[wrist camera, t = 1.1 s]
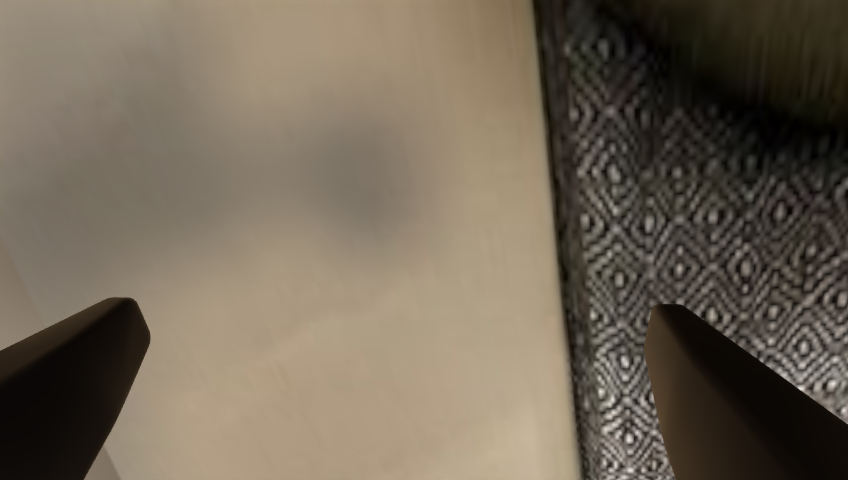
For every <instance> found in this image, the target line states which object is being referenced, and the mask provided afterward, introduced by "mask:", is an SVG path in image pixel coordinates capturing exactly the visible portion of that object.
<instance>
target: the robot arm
mask: <svg viewBox="0 0 848 480" xmlns="http://www.w3.org/2000/svg"><path fill="white" fill-rule="evenodd" d="M149 344H150V331H149V329H148V326H147V324H146V322H145V319H144V317H143V315H142V313H141V310H140V308H139V306H138V304H137V302H136V301H135V300H134V299H132V298H120V297H113V298H107V299H105V300H103V301H101V302H99V303H97V304H95V305H93V306H91V307H89V308H87V309H85V310H83V311H81V312H79V313H77V314H74V315H72V316H70V317H68V318H66V319H64V320H62V321H60V322H58V323H56V324H54V325H52V326H50V327H48V328H46V329H44V330H42V331H40V332H38V333H36V334H34V335H32V336H30V337H28V338H26V339H24V340H22V341H20V342H18V343H15V344H14V345H11V346H9V347H7V348H5V349H3V350H1V351H0V480H84V478H85V477H86V475H87V473H88V471H89V469H90V468H91V465H92V464H93V462H94V460H95V459H96V457H97V455H98V453H99V451H100V450H101V448H102V446H103V444H104V442H105V441H106V439H107V437H108V435H109V433H110V432H111V430H112V428H113V426H114V424H115V422H116V420H117V418H118V416H119V414H120V412H121V409H122V407H123V405H124V403H125V400H126V398H127V396H128V393H129V391H130V389H131V386H132V384H133V382H134V379H135V377H136V375H137V373H138V370H139V368H140V366H141V363H142V361H143V359H144V356H145V354H146V352H147V349H148V347H149ZM644 349H645V358H646V363H647V368H648V372H649V377H650V382H651V387H652V391H653V396H654V401H655V405H656V410H657V415H658V420H659V424H660V429H661V433H662V437H663V442H664V445H665V448H666V451H667V455H668V458H669V461H670V464H671V466H672V469H673V472H674V475H675V478H676V480H848V424H846V423H845V422H844V421H842V420H841V419H839V418H838V417H837V416H835V415H834V414H832V413H831V412H830V411H828V410H827V409H826V408H824V407H823V406H821V405H820V404H819V403H817V402H816V401H815V400H813V399H812V398H810V397H809V396H808V395H806V394H805V393H803V392H802V391H801V390H799V389H798V388H797V387H795V386H794V385H792V384H791V383H790V382H788V381H787V380H785V379H784V378H783V377H781V376H780V375H779V374H777V373H776V372H774V371H773V370H772V369H770V368H769V367H767V366H766V365H765V364H763V363H762V362H761V361H759V360H758V359H756V358H755V357H754V356H752V355H751V354H749V353H748V352H747V351H745V350H744V349H743V348H741V347H740V346H738V345H737V344H736V343H734V342H733V341H732V340H730V339H729V338H727V337H726V336H725V335H723V334H722V333H720V332H719V331H718V330H716V329H715V328H714V327H712V326H711V325H709V324H708V323H707V322H705V321H704V320H702V319H701V318H700V317H698V316H697V315H696V314H694V313H693V312H691V311H690V310H689V309H687V308H686V307H684V306H683V305H679V304H657V305H655V306H654V307H653V309H652V311H651V316H650V320H649V325H648V330H647V334H646V339H645V346H644Z"/></svg>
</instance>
